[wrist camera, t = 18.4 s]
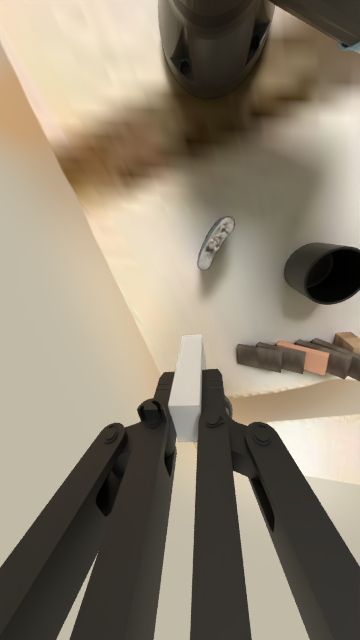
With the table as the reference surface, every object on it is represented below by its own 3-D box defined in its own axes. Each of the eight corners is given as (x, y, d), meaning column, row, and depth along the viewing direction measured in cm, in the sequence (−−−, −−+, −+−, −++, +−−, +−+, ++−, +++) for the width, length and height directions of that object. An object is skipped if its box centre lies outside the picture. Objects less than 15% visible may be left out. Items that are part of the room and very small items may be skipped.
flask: (206, 264, 40) (206, 275, 31) (194, 257, 40) (190, 266, 30) (231, 222, 36) (240, 219, 27) (218, 214, 36) (223, 208, 26)
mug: (348, 279, 38) (386, 293, 30) (285, 294, 41) (304, 310, 33) (351, 231, 35) (395, 232, 27) (281, 251, 37) (302, 257, 29)
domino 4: (296, 342, 45) (349, 360, 37) (299, 339, 45) (352, 356, 38) (294, 359, 47) (344, 379, 39) (297, 356, 47) (347, 375, 40)
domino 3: (276, 344, 45) (327, 357, 38) (278, 340, 46) (329, 353, 39) (275, 360, 47) (324, 375, 40) (277, 357, 48) (325, 371, 41)
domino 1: (236, 347, 47) (281, 355, 41) (238, 344, 48) (282, 351, 43) (237, 363, 49) (280, 372, 43) (239, 359, 50) (281, 368, 45)
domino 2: (256, 345, 46) (305, 355, 40) (258, 342, 47) (306, 351, 41) (256, 362, 48) (302, 373, 42) (258, 358, 49) (303, 369, 43)
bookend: (335, 333, 44) (354, 347, 38) (350, 332, 43) (371, 346, 38) (330, 357, 46) (347, 374, 41) (344, 356, 46) (362, 373, 41)
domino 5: (312, 340, 44) (366, 361, 36) (316, 338, 45) (370, 358, 36) (309, 357, 46) (360, 381, 38) (313, 355, 47) (364, 378, 38)
